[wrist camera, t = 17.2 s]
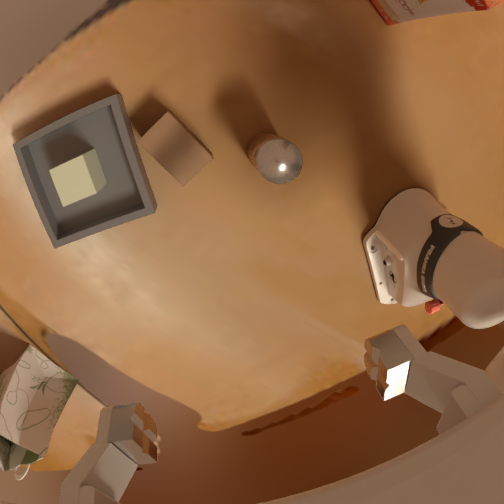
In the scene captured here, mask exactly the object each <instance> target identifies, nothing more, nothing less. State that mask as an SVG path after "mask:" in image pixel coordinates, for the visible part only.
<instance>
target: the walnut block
mask: <svg viewBox="0 0 504 504" xmlns="http://www.w3.org/2000/svg"><path fill="white" fill-rule="evenodd" d="M137 142H138V143H139V144H140V145H141V146H142V147H143V148H144V149H145V150H146V151H147V152H148V153H149V154H151V155H152V156H153V157H154V158H155V159H156V160H157V161H158V162H159V163H160V164H161V165H162V166H163V167H164V168H165V169H166V170H167V171H168V172H169V173H170V174H171V175H172V176H173V177H174V178H175V179H176V180H177V181H178V182H179V183H180V184H181V185H182V186H183V187H184V186H185V185H186V184H187V183H188V182H189V181H190V180H191V179H192V178H193V177H194V176H195V175H196V174H198V173H199V172H200V171H201V170H202V169H203V168H204V167H205V166H206V165H207V164H208V163H209V162H211V161H212V160H213V159H214V158H213V155H212V153H211V152H210V151H209V150H208V149H207V148H206V147H205V146H204V145H203V144H202V143H201V142H200V141H199V140H198V139H197V138H196V137H195V135H194V134H193V133H192V132H191V131H190V130H189V129H188V128H187V127H186V126H185V125H184V124H183V123H182V122H181V121H180V120H179V119H178V118H177V117H176V116H175V115H174V114H173V113H172V112H171V111H168V112H167V113H166V114H165V115H164V116H163V117H161V118H160V119H159V120H158V121H157V122H156V123H155V124H154V125H153V126H152V127H151V128H150V129H149V130H148V131H147V132H146V133H145V134H144V135H143V136H142V137H141V138H140V139H139V140H138V141H137Z"/></svg>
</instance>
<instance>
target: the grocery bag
mask: <svg viewBox="0 0 504 504" xmlns="http://www.w3.org/2000/svg"><path fill="white" fill-rule="evenodd" d="M78 381H79V380H78V379H77V378H74V377H73V376H71V375H70V374H68V373H67V372H65V371H64V370H62V369H61V368H59V367H58V366H57V365H55V364H54V363H53V362H51V361H50V360H49V359H47V358H46V357H45V356H44V355H43V354H41V353H40V352H39V351H38V350H36V349H35V348H34V347H33V346H32V345H30V344H29V346H28V347H27V348H26V350H25V351H24V352H23V353H22V355H21V356H20V357H19V359H18V360H17V361H16V363H14V364H13V365H12V366H10V367H9V368H8V369H6V370H5V371H4V372H2V373H1V374H0V467H1V468H2V469H3V470H4V471H8V470H13V469H15V472H14V478H15V479H16V480H21V479H23V477H24V476H25V475H26V474H27V471H28V469H29V466H30V464H32V463H34V462H36V461H38V460H40V459H42V458H45V457H46V453H47V449H48V446H49V442H50V439H51V435H52V432H53V429H54V427H55V425H56V423H57V421H58V419H59V417H60V415H61V413H62V411H63V409H64V407H65V405H66V403H67V401H68V399H69V397H70V395H71V393H72V392H73V390H74V388H75V386H76V384H77V382H78ZM25 464H28V465H27V468H26V470H25V472H24V473H23V474H22V475H20V476H17V475H16V470H17V467H18V466H20V465H25Z"/></svg>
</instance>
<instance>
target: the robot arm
mask: <svg viewBox="0 0 504 504" xmlns="http://www.w3.org/2000/svg"><path fill="white" fill-rule="evenodd" d="M363 245H364V249H365V252H366V256H367V260H368V263H369V267H370V271H371V275H372V279H373V283H374V287H375V291H376V295H377V299H378V301H379V302H380V303H383V304H394V303H399V304H400V305H402V306H415V305H419V304H422V303H424V302H426V303H425V309H426V312H427V313H429V315H431V314H433V313H434V312H435V311H439V310H440V306H441V305H443V304H445V305H446V306H447V307H448V308H449V309H450V310H451V311H452V312H453V313H454V314H455V315H456V316H457V317H458V318H459V319H460V320H461V321H462V322H463V323H464V324H465V325H467V326H469V327H471V328H476V329H482V328H487V327H491V326H494V325H496V324H498V323H500V322H501V321H503V320H504V249H503V248H502V247H500V246H498V245H496V244H495V243H493V242H491V241H490V240H488V239H487V238H485V237H484V236H483V234H482V233H481V232H480V231H479V230H478V229H476V228H475V227H474V226H472V225H471V224H469V223H467V222H466V221H464V220H462V219H460V218H458V217H456V216H454V215H452V214H451V213H449V212H448V211H447V210H446V209H445V208H444V207H443V206H442V205H441V204H440V203H439V202H438V201H437V200H436V199H435V198H434V197H433V196H432V195H431V194H430V193H429V192H428V191H426V190H423V189H419V188H412V189H408V190H405V191H403V192H401V193H399V194H398V195H396V196H395V197H394V198H393V199H391V200H390V202H389V203H388V204H387V205H386V206H385V208H384V209H383V211H382V213H381V214H380V217H379V219H378V221H377V223H376V224H375V226H374V227H373V228H372V229H371V230H370V231H369V232H368V233H367V235H366V236H365V237H364V239H363ZM372 246H373V247H372ZM371 247H372V248H371ZM433 298H434V299H433ZM431 299H433V300H432V301H429V300H431ZM427 301H429V302H427ZM364 347H365V349H366V351H367V352H366V353H365V355H364V362H365V366H366V370H367V372H368V374H369V376H370V378H371V379H373V380H376V381H377V385H376V388H377V390H378V391H379V393H380V395H381V397H382V398H383V400H384V401H385V400H387V399H390V398H392V397H394V396H396V395H399V394H401V393H403V392H405V393H406V394H407V395H409V396H411V397H413V398H415V399H416V400H418V401H420V402H422V403H424V404H425V405H427V406H429V407H431V408H433V409H435V410H436V411H438V412H440V413H442V416H441V419H440V421H439V423H438V425H437V430H438V432H439V434H440V435H439V436H437V437H435V438H434V439H432V440H430V441H428V442H426V443H424V444H422V445H420V446H418V447H416V448H414V449H412V450H411V451H409V452H406V453H405V454H403V455H400V456H398V457H396V458H394V459H392V460H390V461H387V462H386V463H383V464H381V465H378V466H376V467H374V468H371V469H369V470H366V471H364V472H362V473H359V474H356V475H354V476H351V477H348V478H346V479H343V480H340V481H337V482H335V483H332V484H329V485H326V486H323V487H320V488H316V489H313V490H310V491H307V492H303V493H300V494H296V495H292V496H288V497H285V498H281V499H277V500H273V501H268V502H264V503H259V504H504V347H503V348H502V349H501V351H500V352H499V353H498V354H497V355H496V357H495V358H494V359H493V360H492V361H491V363H490V364H489V365H488V367H487V368H486V370H485V371H484V370H481V369H479V368H476V367H473V366H470V365H467V364H464V363H462V362H459V361H456V360H453V359H450V358H448V357H445V356H442V355H440V354H437V353H434V352H431V351H430V352H428V353H427V352H426V350H425V349H424V348H423V347H422V345H421V344H420V343H419V342H418V340H417V339H416V338H415V337H414V335H413V334H412V333H411V332H410V331H409V329H408V328H407V327H406V326H405V325H403V324H402V325H400V326H397V327H395V328H392V329H390V330H387V331H385V332H382V333H380V334H378V335H375V336H373V337H370V338H368V339H366V340H365V342H364ZM156 439H157V427H156V423H155V421H154V419H153V418H152V417H151V415H149V414H147V413H144V407H143V406H142V405H141V404H140V403H136V404H129V405H121V406H113V407H105V408H103V409H102V410H101V412H100V418H99V424H98V430H97V437H96V444H92V445H91V446H90V448H89V449H88V450H87V452H86V453H85V454H84V455H83V457H82V458H81V459H80V461H79V462H78V463H77V464H76V466H75V467H74V468H73V470H72V471H71V472H70V474H69V475H68V476H67V477H66V479H65V480H64V481H63V483H62V484H61V492H60V501H59V504H121V503H119V500H120V498H121V496H122V494H123V492H124V490H125V489H126V487H127V485H128V483H129V481H130V479H131V478H132V475H133V474H134V472H135V470H136V468H137V466H138V465H139V464H148V463H155V462H157V446H156V445H155V444H154V442H155V440H156ZM0 504H15V503H10V502H6V501H3V500H0Z"/></svg>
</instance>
